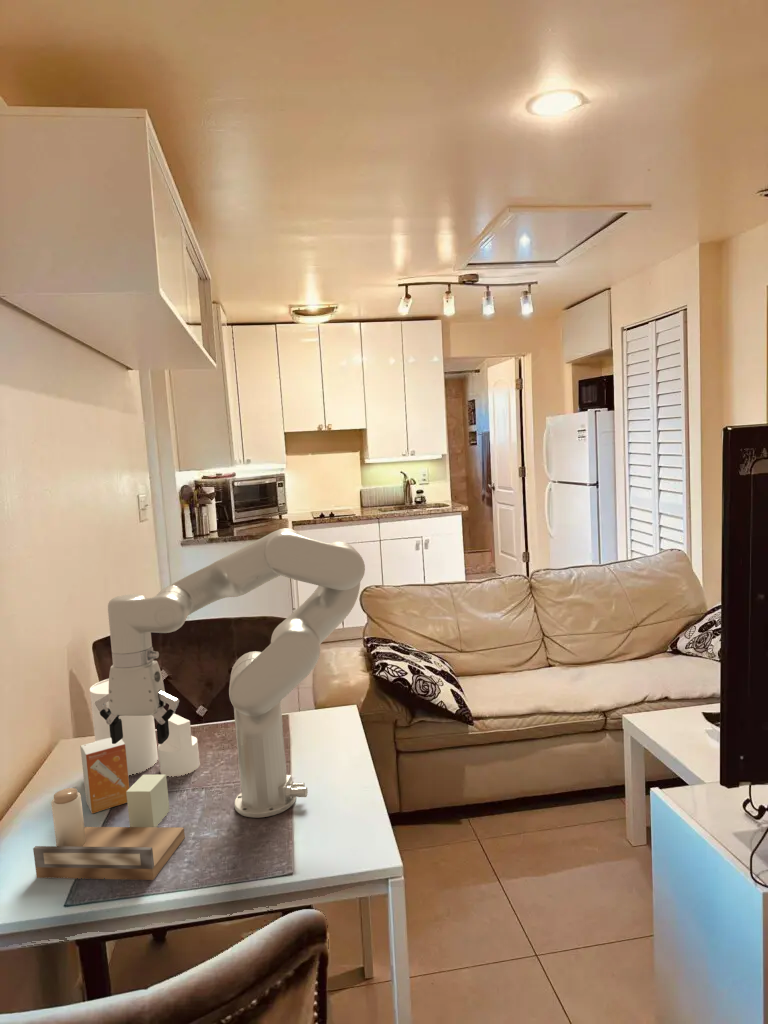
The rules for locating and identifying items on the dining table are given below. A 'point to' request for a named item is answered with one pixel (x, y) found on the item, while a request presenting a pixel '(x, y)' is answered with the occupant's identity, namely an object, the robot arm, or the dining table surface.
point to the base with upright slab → (178, 749)
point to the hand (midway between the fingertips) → (140, 741)
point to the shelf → (111, 854)
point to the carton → (148, 801)
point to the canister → (127, 732)
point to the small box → (105, 774)
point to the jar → (68, 818)
